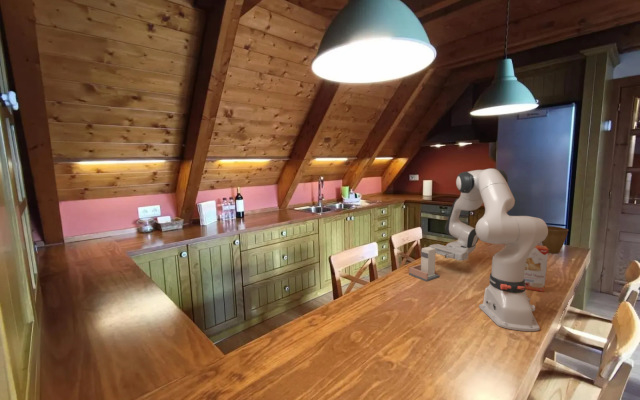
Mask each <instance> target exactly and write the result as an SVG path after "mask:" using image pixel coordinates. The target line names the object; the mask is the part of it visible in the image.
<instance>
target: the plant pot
mask: <svg viewBox="0 0 640 400" xmlns="http://www.w3.org/2000/svg"><path fill="white" fill-rule="evenodd" d="M547 227H548V235H547V237H546V239H545V240H544V241H542V242H541V244H542V245H541V246H546V247H547V248H548V249H549V251H548V254H559V253H560V252H561V250H562V248H563V246H564V244H565V242H566V239H567V236H568V232H569V229H567V228H565V227H560V226H551V225H547Z"/></svg>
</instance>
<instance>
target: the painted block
mask: <svg viewBox="0 0 640 400" xmlns="http://www.w3.org/2000/svg"><path fill="white" fill-rule="evenodd" d="M436 254H437V253H436V249H435V248H431V247H429V246H427V247H426V246H425V247H422V248H421V256H420V259H421V261H420V264H421V271H422V272H425V273H428V276H432V275H435V274H436V273H435V271H436Z"/></svg>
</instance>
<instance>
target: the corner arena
mask: <svg viewBox="0 0 640 400" xmlns="http://www.w3.org/2000/svg"><path fill="white" fill-rule="evenodd" d="M408 275H410V276H412V277H414V278H416V279H420V280H421V281H424V282H429V281H432V280H434V279H438V278H440V275H439V274H438V273H435V275H432V276H428V273H425V272H422V271H421V263H419V264H416V265H413V266H412V265H411V266H409V267H408Z"/></svg>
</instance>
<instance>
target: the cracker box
mask: <svg viewBox="0 0 640 400" xmlns="http://www.w3.org/2000/svg"><path fill="white" fill-rule="evenodd" d="M548 251H549V249H548V248H547V247H546V246H543V245H540V244H538V245H536V246H535V247H534V249H533V250H532V251H531V253H530V254H529V256H528V258H527V260H526V265H525V271H524V280H525V289H526V290H528V291H529V290H530V291H536V292H541V293H544V292H545V287H546V275H547V269H548V261H549V260H548V259H549V253H548Z"/></svg>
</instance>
